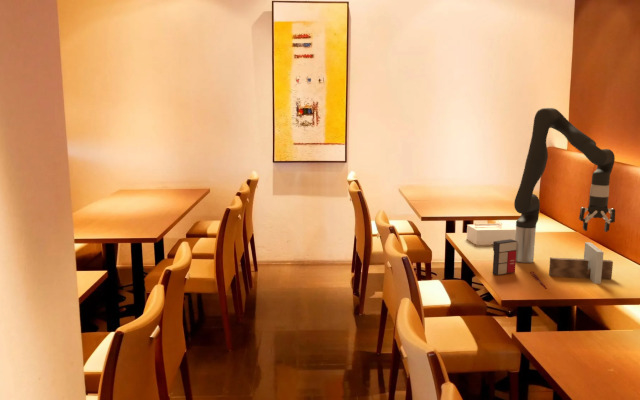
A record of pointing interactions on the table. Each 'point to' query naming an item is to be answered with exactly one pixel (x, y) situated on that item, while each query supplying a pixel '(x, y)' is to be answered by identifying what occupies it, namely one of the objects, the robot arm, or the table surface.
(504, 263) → the grey red box
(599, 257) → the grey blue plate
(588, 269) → the walnut board
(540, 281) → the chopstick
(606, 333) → the table surface
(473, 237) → the tissue box
